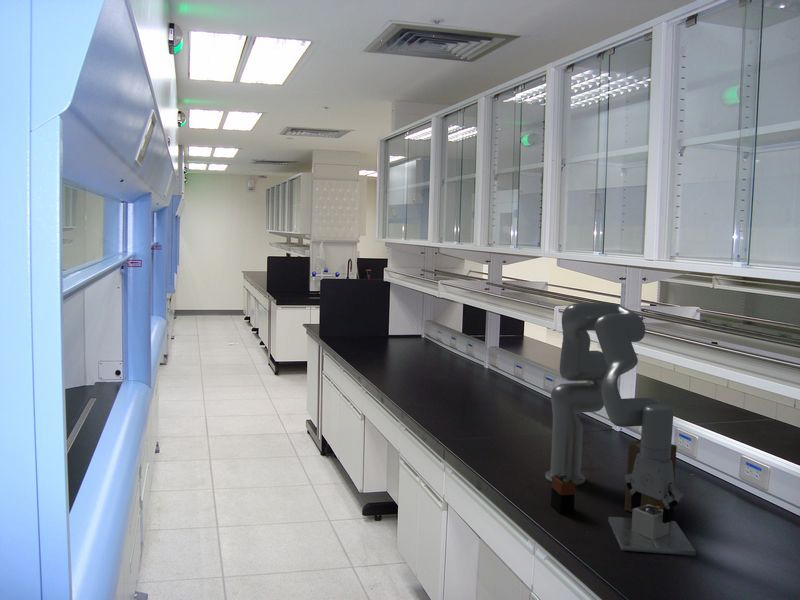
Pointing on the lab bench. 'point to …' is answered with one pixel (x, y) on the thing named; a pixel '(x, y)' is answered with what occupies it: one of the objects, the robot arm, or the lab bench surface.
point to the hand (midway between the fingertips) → (651, 515)
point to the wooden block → (632, 454)
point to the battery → (562, 493)
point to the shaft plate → (640, 543)
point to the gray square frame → (649, 523)
